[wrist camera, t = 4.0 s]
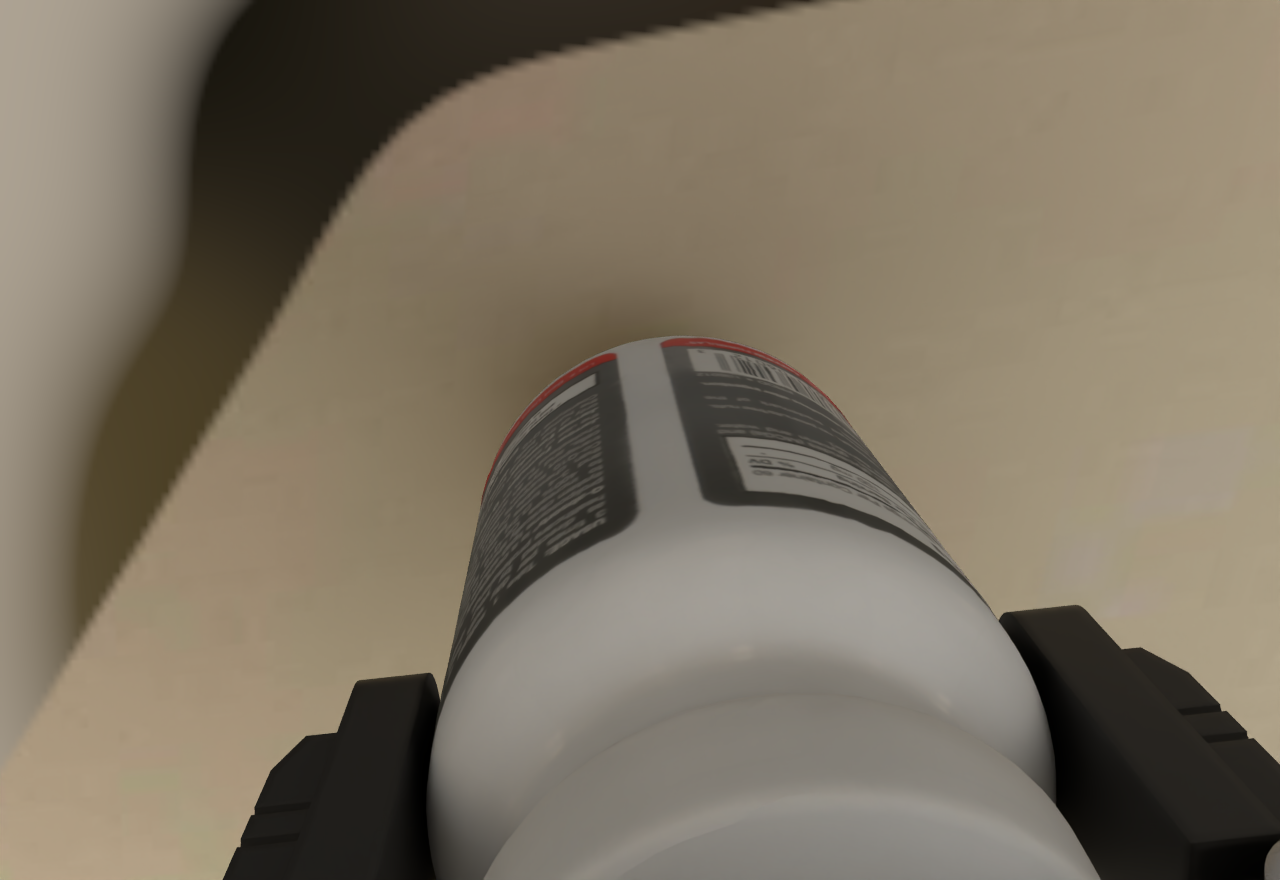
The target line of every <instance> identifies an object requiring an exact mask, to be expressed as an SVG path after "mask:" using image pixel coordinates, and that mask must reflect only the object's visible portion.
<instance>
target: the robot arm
mask: <svg viewBox="0 0 1280 880" xmlns="http://www.w3.org/2000/svg"><path fill="white" fill-rule="evenodd" d="M999 622H1000V624H1001V625H1002V627H1003V628H1004V629H1005V631H1006V632H1007V634H1008V635H1009V637H1010V639H1011V640H1012V642H1013V643H1014V645H1015V647H1016V648H1017V650H1018V652H1019V653H1020V655H1021V657H1022V659H1023V661H1024V662H1025V664H1026V666H1027V668H1028V670H1029V672H1030V674H1031V676H1032V679H1033V681H1034V683H1035V685H1036V688H1037V690H1038V693H1039V696H1040V698H1041V701H1042V704H1043V707H1044V710H1045V713H1046V716H1047V720H1048V724H1049V728H1050V733H1051V738H1052V744H1053V749H1054V755H1055V766H1056V807H1057V808H1058V810H1059V811H1060V812H1061V814H1062V815H1063V817H1064V818H1065V820H1066V821H1067V822H1068V824H1069V825H1070V827H1071V828H1072V830H1073V832H1074V833H1075V835H1076V837H1077V839H1078V840H1079V842H1080V844H1081V845H1082V847H1083V849H1084V851H1085V852H1086V854H1087V856H1088V858H1089V859H1090V861H1091V863H1092V865H1093V866H1094V868H1095V870H1096V872H1097V874H1098V875H1099V877H1100V879H1101V880H1280V764H1279V763H1278V762H1277V761H1276V760H1275V759H1274V758H1273V757H1272V756H1271V755H1270V754H1269V753H1268V752H1267V751H1266V750H1265V749H1264V748H1263V747H1262V746H1261V745H1260V744H1259V743H1258V742H1257V741H1256V740H1255V739H1254V738H1252V739H1249V738H1248V736H1247V731H1246V730H1245V729H1244V728H1243V727H1242V726H1241V725H1240V724H1239V723H1238V722H1237V721H1236V720H1235V719H1234V718H1233V717H1232V716H1231V715H1230V714H1229V713H1228V712H1227V711H1221V708H1220V704H1219V703H1218V702H1217V701H1216V700H1215V699H1214V698H1213V697H1212V696H1211V695H1210V694H1209V693H1208V692H1207V691H1206V690H1205V689H1204V688H1203V687H1202V686H1201V685H1200V684H1199V683H1198V682H1197V681H1196V680H1195V679H1194V678H1193V677H1192V676H1191V675H1190V674H1189V673H1188V672H1186V671H1185V670H1183V669H1181V668H1179V667H1177V666H1175V665H1173V664H1171V663H1169V662H1167V661H1166V660H1164V659H1162V658H1160V657H1158V656H1156V655H1154V654H1152V653H1150V652H1148V651H1147V650H1145V649H1143V648H1141V647H1140V648H1131V649H1121V648H1120V647H1119V646H1118V645H1117V644H1116V643H1115V642H1114V641H1113V639H1112V638H1111V637H1110V636H1109V635H1108V634H1107V633H1106V632H1105V631H1104V630H1103V629H1102V627H1101V626H1100V625H1099V624H1098V623H1097V622H1096V621H1095V620H1094V619H1093V618H1092V617H1091V615H1090V614H1089V613H1088V612H1087V611H1086V610H1085V609H1084V608H1083V607H1081V606H1079V605H1070V606H1061V607H1052V608H1042V609H1033V610H1024V611H1014V612H1006V613H1004V614H1003V615H1002V616H1001V618H1000V620H999ZM439 705H440V698H439V693H438V688H437V684H436V681H435V679H434V677H433V675H432V674H431V673H423V674H414V675H405V676H395V677H386V678H377V679H367V680H359V681H357V682H356V684H355V686H354V688H353V690H352V693H351V696H350V699H349V701H348V704H347V707H346V709H345V712H344V715H343V718H342V720H341V723H340V726H339V728H338V731H337V733H329V734H320V735H311V736H306V737H305V738H304V739H303V740H302V741H301V742H299V743H298V744H297V745H296V746H295V747H294V748H293V749H292V750H291V751H290V752H289V753H288V754H287V755H286V756H285V757H284V758H283V759H282V760H281V761H280V762H279V763H278V764H277V765H276V766H275V767H274V768H273V769H272V770H271V771H270V774H269V776H268V778H267V780H266V783H265V785H264V787H263V790H262V792H261V794H260V796H259V799H258V801H257V803H256V805H255V815H251V817H250V819H249V821H248V824H247V826H246V828H245V830H244V833H243V835H242V837H241V847H237V848H236V851H235V853H234V855H233V858H232V860H231V862H230V864H229V867H228V869H227V871H226V873H225V876H224V878H223V880H436V876H435V872H434V868H433V863H432V859H431V852H430V846H429V839H428V830H427V818H426V793H427V782H428V773H429V765H430V756H431V748H432V742H433V736H434V731H435V725H436V719H437V714H438V710H439Z"/></svg>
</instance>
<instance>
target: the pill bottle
mask: <svg viewBox="0 0 1280 880" xmlns="http://www.w3.org/2000/svg"><path fill="white" fill-rule="evenodd" d="M426 818H427V830H428V839H429V846H430V852H431V859H432V863H433V868H434V872H435V876H436V880H1101V879H1100V877H1099V875H1098V874H1097V872H1096V870H1095V868H1094V866H1093V865H1092V863H1091V861H1090V859H1089V858H1088V856H1087V854H1086V852H1085V851H1084V849H1083V847H1082V845H1081V844H1080V842H1079V840H1078V839H1077V837H1076V835H1075V833H1074V832H1073V830H1072V828H1071V827H1070V825H1069V824H1068V822H1067V821H1066V820H1065V818H1064V817H1063V815H1062V814H1061V812H1060V811H1059V810H1058V808H1057V807H1056V766H1055V755H1054V749H1053V744H1052V738H1051V733H1050V728H1049V724H1048V720H1047V716H1046V713H1045V710H1044V707H1043V704H1042V701H1041V698H1040V696H1039V693H1038V690H1037V688H1036V685H1035V683H1034V681H1033V679H1032V676H1031V674H1030V672H1029V670H1028V668H1027V666H1026V664H1025V662H1024V661H1023V659H1022V657H1021V655H1020V653H1019V652H1018V650H1017V648H1016V647H1015V645H1014V643H1013V642H1012V640H1011V639H1010V637H1009V635H1008V634H1007V632H1006V631H1005V629H1004V628H1003V627H1002V625H1001V624H1000V622H999V621H998V619H997V618H996V617H995V615H994V614H993V612H992V611H991V609H990V607H989V606H988V604H987V603H986V602H985V600H984V599H983V598H982V596H981V595H980V594H979V592H978V591H977V590H976V589H975V587H974V586H973V585H972V583H971V582H970V581H969V580H968V579H967V577H966V576H965V575H964V573H963V572H962V570H961V569H960V568H959V566H958V565H957V564H956V563H955V562H954V560H953V559H952V558H951V557H950V555H949V554H948V553H947V551H946V550H945V549H944V547H943V546H942V545H941V543H940V542H939V541H938V539H937V538H936V537H935V535H934V534H933V533H932V531H931V530H930V528H929V527H928V526H927V525H926V523H925V522H924V521H923V520H922V518H921V517H920V516H919V514H918V513H917V512H916V510H915V509H914V508H913V506H912V505H911V504H910V502H909V501H908V500H907V499H906V497H905V496H904V495H903V493H902V492H901V491H900V489H899V488H898V487H897V485H896V484H895V483H894V482H893V480H892V479H891V478H890V476H889V475H888V474H887V472H886V471H885V470H884V468H883V467H882V466H881V464H880V463H879V462H878V461H877V459H876V458H875V457H874V455H873V454H872V453H871V451H870V450H869V449H868V447H867V446H866V445H865V443H864V442H863V441H862V439H861V438H860V437H859V435H858V434H857V433H856V432H855V430H854V429H853V428H852V426H851V425H850V423H849V422H848V421H847V419H846V418H845V416H844V415H843V414H842V412H841V411H840V410H839V409H838V408H837V406H836V405H835V404H834V403H833V402H832V401H831V400H830V399H829V397H828V396H826V395H825V394H824V393H823V392H822V391H821V390H820V389H819V388H818V387H816V386H815V385H814V384H813V383H812V382H811V381H809V380H808V379H807V378H806V377H804V376H803V375H802V374H800V373H799V372H798V371H796V370H795V369H793V368H792V367H791V366H789V365H788V364H786V363H784V362H782V361H781V360H779V359H777V358H775V357H773V356H771V355H769V354H767V353H765V352H762V351H760V350H757V349H755V348H752V347H749V346H746V345H742V344H739V343H736V342H732V341H728V340H723V339H717V338H710V337H699V336H667V337H657V338H650V339H644V340H639V341H635V342H630V343H626V344H623V345H620V346H617V347H614V348H611V349H609V350H606V351H604V352H601V353H599V354H597V355H594V356H592V357H590V358H588V359H586V360H584V361H583V362H581V363H579V364H578V365H576V366H574V367H573V368H571V369H570V370H568V371H566V372H565V373H563V374H562V375H560V376H559V377H557V378H556V379H555V380H554V381H553V382H552V383H550V384H549V385H548V386H547V387H546V388H544V389H543V390H542V391H541V392H540V393H539V394H538V395H537V396H536V397H535V398H534V399H533V400H532V401H531V402H530V404H529V405H528V406H527V407H526V408H525V409H524V410H523V412H522V413H521V414H520V416H519V417H518V418H517V420H516V421H515V422H514V424H513V425H512V427H511V429H510V430H509V432H508V433H507V435H506V436H505V438H504V441H503V443H502V445H501V447H500V449H499V451H498V453H497V455H496V457H495V460H494V462H493V465H492V468H491V471H490V473H489V475H488V477H487V480H486V484H485V488H484V491H483V495H482V501H481V508H480V513H479V518H478V523H477V528H476V533H475V537H474V542H473V547H472V552H471V557H470V562H469V566H468V571H467V576H466V581H465V586H464V591H463V595H462V600H461V605H460V610H459V615H458V620H457V625H456V630H455V635H454V640H453V644H452V649H451V653H450V658H449V663H448V668H447V672H446V676H445V681H444V685H443V690H442V695H441V700H440V705H439V710H438V714H437V719H436V725H435V731H434V736H433V742H432V748H431V756H430V765H429V773H428V782H427V793H426Z"/></svg>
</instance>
